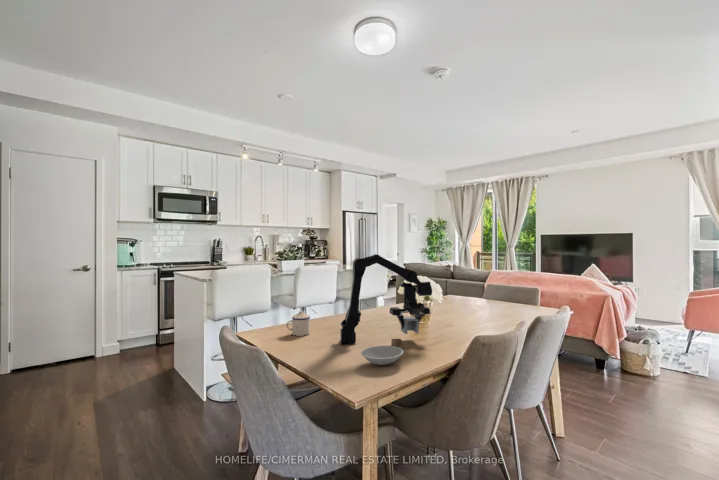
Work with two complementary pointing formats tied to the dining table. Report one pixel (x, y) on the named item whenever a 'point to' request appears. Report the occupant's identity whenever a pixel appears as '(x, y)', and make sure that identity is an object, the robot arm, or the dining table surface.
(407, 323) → the grey cover
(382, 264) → the robot arm
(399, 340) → the walnut block
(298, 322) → the teacup with lid
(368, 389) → the dining table surface
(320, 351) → the dining table surface
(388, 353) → the dish
